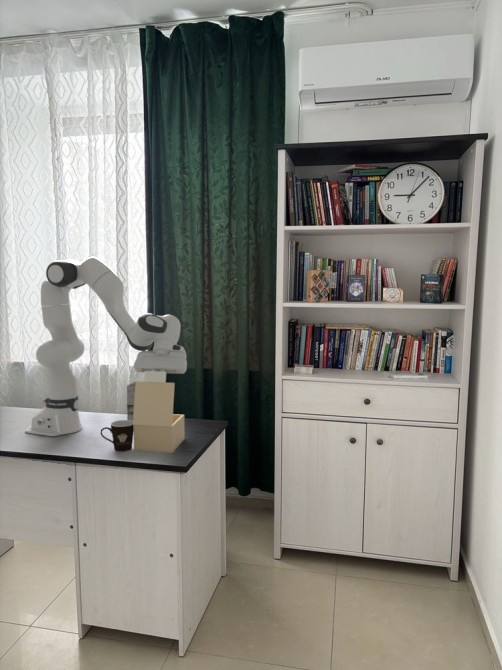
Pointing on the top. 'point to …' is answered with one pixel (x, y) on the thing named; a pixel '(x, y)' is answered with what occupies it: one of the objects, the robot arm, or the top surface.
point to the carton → (159, 436)
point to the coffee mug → (121, 435)
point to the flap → (153, 400)
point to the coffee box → (130, 400)
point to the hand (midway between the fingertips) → (156, 381)
